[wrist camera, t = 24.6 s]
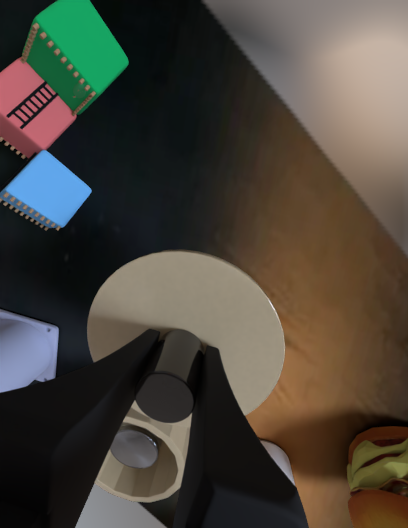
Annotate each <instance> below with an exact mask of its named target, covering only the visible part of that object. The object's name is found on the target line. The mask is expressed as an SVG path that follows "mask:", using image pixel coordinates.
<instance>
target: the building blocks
mask: <svg viewBox="0 0 408 528" xmlns="http://www.w3.org/2000/svg"><path fill="white" fill-rule="evenodd" d="M128 63H129V61H128V58H127V56H126V55H125V53H124V51H123V50H122V48H121V47H120V45H119V44H118V42H117V41H116V39H115V38H114V36H113V35H112V33H111V32H110V30H109V29H108V27H107V26H106V24H105V23H104V21H103V20H102V18H101V17H100V15H99V14H98V12H97V11H96V9H95V8H94V6H93V5H92V3H91V2H90V0H57V1H56V2H55V3H53V4H52V5H50V6H49V7H48V8H46V9H45V10H43V11H42V12H41V13H39V14H38V15H37V16H36V17H35V18H34V20H33V23H32V26H31V29H30V32H29V35H28V38H27V41H26V44H25V47H24V49H23V53H22V57H21V58H18V59H17V60H16V61H14V62H13V63H12V64H11V65H9V66H8V67H7V68H5V69H4V70H3V71H2V72H0V142H1V141H2V140H5V141H6V143H5V144H4V145H5V146H8V145H9V144H10V145H12V147H11V148H10V149H11V150H12V151H13V150H14V149H17V150H18V151H17V152H16V154H17V155H19V154H20V153H22V154H23V155H22V156H21V158H22V159H24V158H25V157H27V158H28V160H27V161H26V162H25V163H24V164H23V165H22V166H21V167H20V168H19V169H18V170H17V171H16V172H15V173H14V174H13V175H12V176H11V177H10V178H9V179H8V180H7V181H6V182H5V183H4V184H3V185H2V186H1V188H0V202H1V201H2V200H4V201H6V202H5V203H4V204H3V205H5V206H6V205H7V204H8V203H9V204H11V206H10V207H9V208H10V209H12V208H13V207H15V208H17V209H16V210H15V212H16V213H17V212H18V211H19V210H20V211H22V212H21V213H20V215H21V216H23V214H24V213H25V214H27V216H26V217H25V218H26V219H28V218H29V217H32V219H31V220H30V221H31V222H33V221H34V220H36V221H37V222H36V223H35V224H36V225H38V223H39V222H40V223H41V225H40V227H41V228H42V227H43V226H44V225H45V226H46V228H45V229H44V230H46V231H47V229H48V228H56V230H59V229H60V228H62V227H64V226H65V225H66V224H67V223H68V222H69V220H70V219H71V218H72V217H73V215H74V214H75V213H76V211H77V210H78V209H79V208H80V206H81V205H82V204H83V203H84V201H85V200H86V199H87V197H88V196H89V195H90V193H91V191H92V190H91V188H90V187H89V186H88V185H86V184H85V183H84V182H83V181H82V180H81V179H79V178H78V177H77V176H76V175H75V174H74V173H72V172H71V171H70V170H69V169H68V168H66V167H65V166H64V165H63V164H62V163H61V162H59V161H58V160H57V159H56V158H55V157H54V156H52V155H51V154H50V153H49V152H47V151H46V150H47V149H48V148H49V147H50V146H51V145H52V144H53V143H54V142H55V141H56V139H57V138H58V137H59V136H60V135H61V134H62V133H63V132H64V131H65V130H66V129H67V128H68V127H69V126H70V125H71V124H72V123H73V122H74V120H75V119H76V117H77V116H76V114H78V115H79V114H81V113H82V112H83V111H84V110H85V109H86V108H87V107H89V106H90V105H91V104H92V103H93V102H94V101H95V100H96V99H97V98H98V97H99V96H100V95H101V94H102V93H103V92H104V90H105V89H106V88H107V87H108V86H109V85H110V84H111V83H112V82H113V81H114V80H115V79H116V78H117V77H118V76H119V75H120V74H121V73H122V72H123V70H124V69H125V68H126V67H127V66H128ZM22 169H23V170H22ZM21 170H22V171H21ZM20 171H21V172H20ZM19 172H20V173H19ZM18 173H19V174H18ZM17 174H18V175H17ZM16 175H17V176H16ZM15 176H16V177H15ZM14 177H15V178H14ZM13 178H14V179H13ZM12 179H13V180H12ZM11 180H12V181H11ZM10 181H11V182H10Z"/></svg>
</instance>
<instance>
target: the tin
mask: <svg viewBox="0 0 408 528" xmlns="http://www.w3.org/2000/svg"><path fill="white" fill-rule="evenodd" d="M161 443H162V439H161V438H159V437H158V436H156V435H155V434H153V433H152V432H150V431H149V430H147V429H146V428H143V427H140V426H136V425H133V424H130V423H127V422H122V424H121V426H120V428H119V430H118V432H117V434H116V436H115V438H114V441H113V443H112V445H111V447H110V450H111V453H112V454H113V456H114V457H115V458H116V459H117V460H118V461H119V462H121V463H122V464H124V465H126V466H128V467H131V468H136V469H143V468H148V467H150V466H152V465H153V464H154V463H155V462H156V461H157V458H158V455H159V451H160V447H161Z"/></svg>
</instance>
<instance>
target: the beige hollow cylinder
mask: <svg viewBox="0 0 408 528" xmlns="http://www.w3.org/2000/svg"><path fill="white" fill-rule="evenodd" d="M123 422H127V423H130V424H133V425H136V426H140V427H143V428H146V429H147V430H149V431H150V432H152V433H153V434H155V435H156V436H158V437H159V438H161V439H162V443H161V447H160V451H159V455H158V458H157V461H156V462H155V463H154V464H153V465H152V466H150V467H148V468H143V469H136V468H131V467H128V466H126V465H124V464H122V463H121V462H119V461H118V460H117V459H116V458H115V457H114V456H113V454H112V453H111V450H110V449H109V451H108V454H107V456H106V458H105V460H104V463H103V465H102V467H101V469H100V471H99V474H98V476H97V478H96V480H95V484H96V485H98V486H99V487H101V488H102V489H104V490H105V491H107V492H108V493H110V494H112V495H115V496H117V497H121V498H123V499H126V500H129V501H134V502H154V501H157V500H161V499H165V498H168V497H170V496H171V495H172V494H173V493H174V492H175V491H177V490H178V489H179V488H180V487H181V482H182V477H183V472H184V466H185V461H186V456H187V450H188V443H189V435H190V428H188V427H179V426H174V425H169V424H165V423H162V422H159V421H156V420H153V419H151V418H149V417H147V416H145V415H143V414H141V413H139V412H137V411H136V410H134V409H133V408H130V410H129V412H128V413H127V415H126V417H125V419H124V420H123Z"/></svg>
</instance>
